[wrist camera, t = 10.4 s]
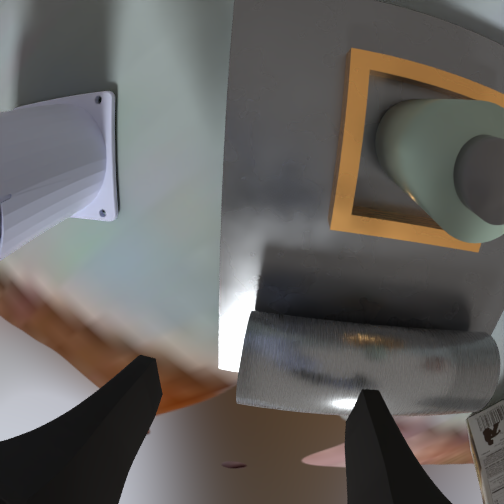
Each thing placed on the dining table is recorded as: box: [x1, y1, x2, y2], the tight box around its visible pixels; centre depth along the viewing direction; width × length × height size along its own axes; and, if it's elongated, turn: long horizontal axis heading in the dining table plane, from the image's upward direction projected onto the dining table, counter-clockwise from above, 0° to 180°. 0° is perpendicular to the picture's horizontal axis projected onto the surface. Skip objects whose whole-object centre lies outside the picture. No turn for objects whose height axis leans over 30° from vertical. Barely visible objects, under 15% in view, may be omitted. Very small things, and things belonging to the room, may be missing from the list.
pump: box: [375, 99, 504, 243], centre depth 9 cm, size 4×4×7 cm
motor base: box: [219, 0, 504, 416], centre depth 13 cm, size 18×22×7 cm
